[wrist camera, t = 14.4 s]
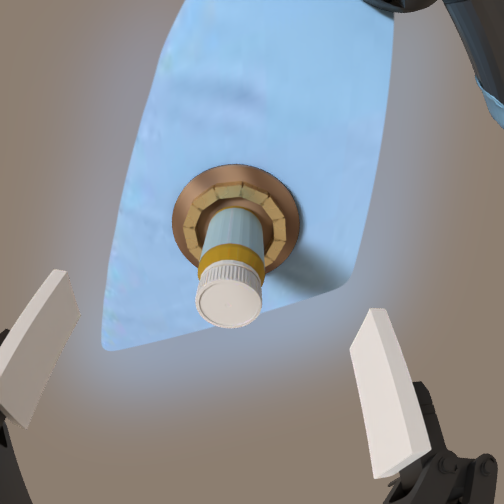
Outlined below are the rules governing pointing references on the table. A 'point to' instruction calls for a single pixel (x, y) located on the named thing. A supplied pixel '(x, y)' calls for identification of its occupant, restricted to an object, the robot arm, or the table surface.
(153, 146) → the table surface
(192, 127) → the table surface
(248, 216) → the bottle
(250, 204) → the ring tray
